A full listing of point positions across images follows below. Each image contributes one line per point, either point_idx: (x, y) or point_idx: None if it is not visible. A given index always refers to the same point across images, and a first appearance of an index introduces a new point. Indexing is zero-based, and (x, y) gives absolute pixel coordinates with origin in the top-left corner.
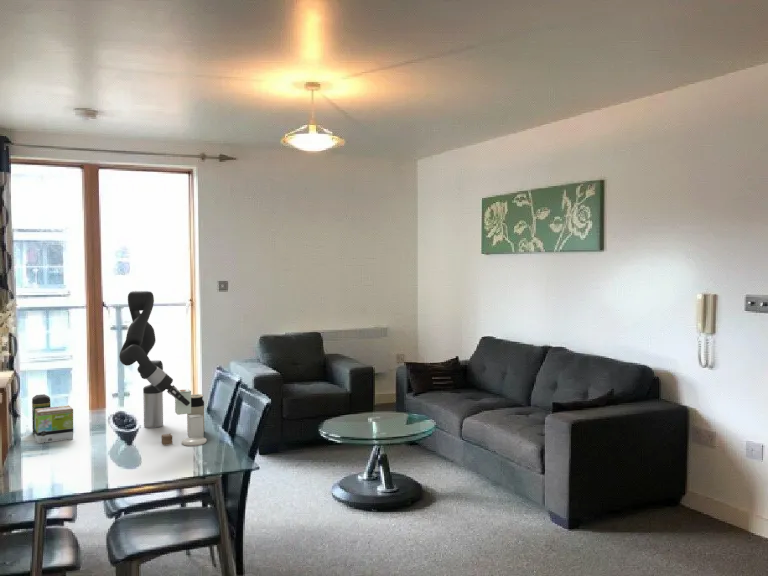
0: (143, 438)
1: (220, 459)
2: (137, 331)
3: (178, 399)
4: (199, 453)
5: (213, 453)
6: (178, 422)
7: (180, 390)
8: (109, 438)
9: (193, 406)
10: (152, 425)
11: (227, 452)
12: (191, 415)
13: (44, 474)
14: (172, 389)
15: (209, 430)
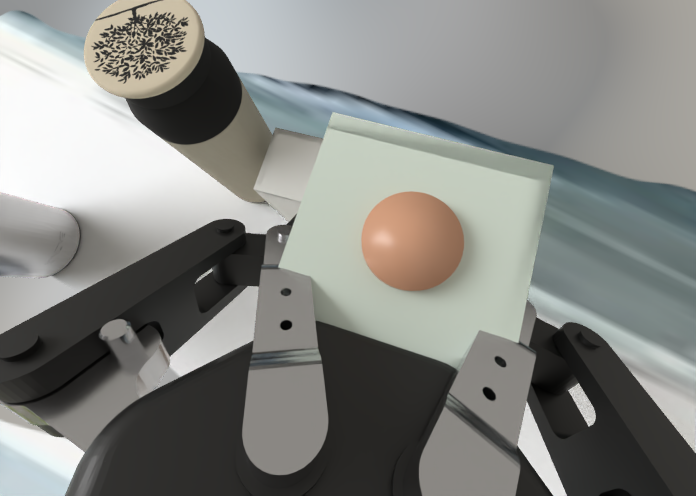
0: (184, 360)
1: (692, 293)
2: None
3: (565, 406)
4: (556, 309)
5: (591, 270)
6: (76, 152)
7: (418, 291)
8: (72, 465)
9: (224, 125)
10: (60, 259)
11: (611, 227)
12: (274, 176)
13: None
14: None
15: (270, 127)
